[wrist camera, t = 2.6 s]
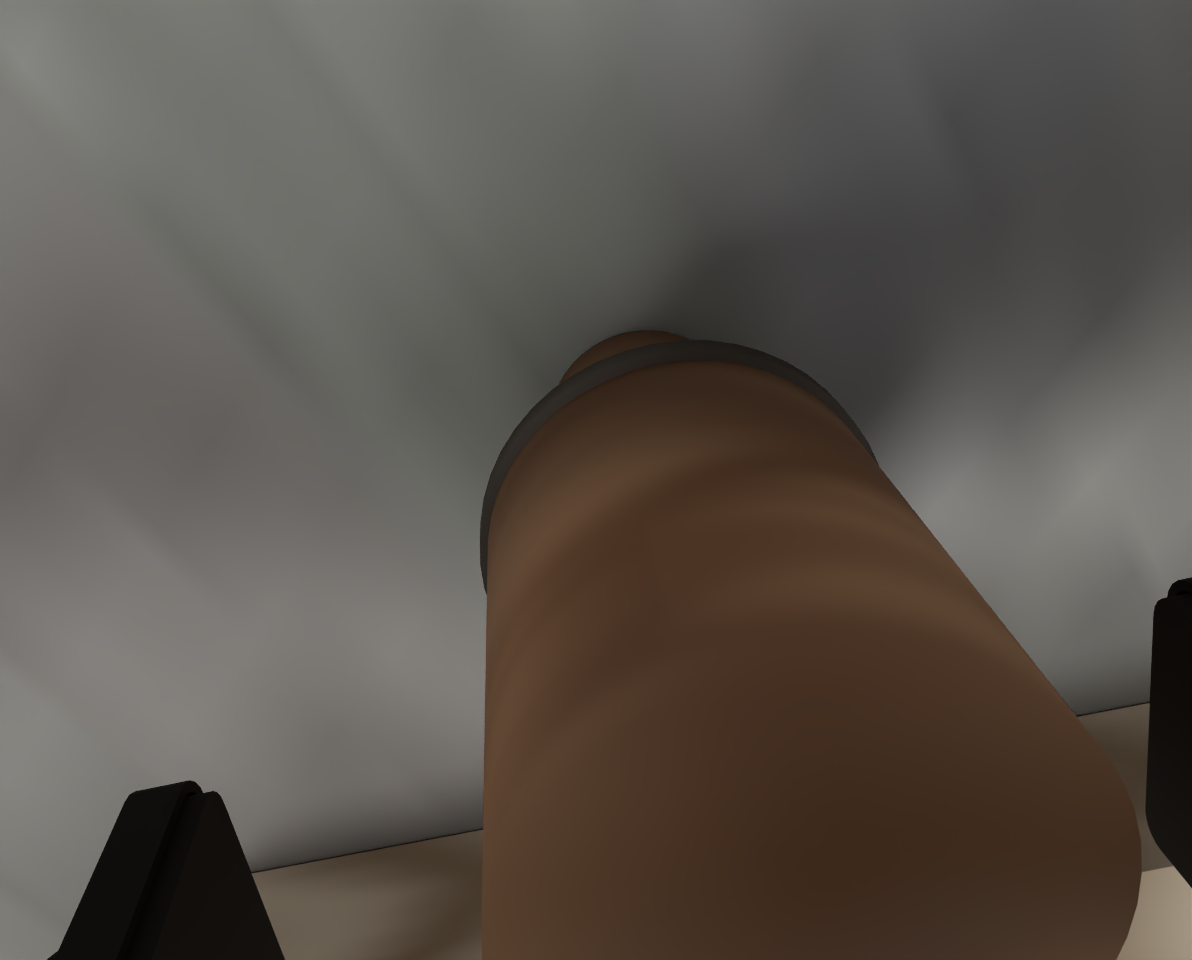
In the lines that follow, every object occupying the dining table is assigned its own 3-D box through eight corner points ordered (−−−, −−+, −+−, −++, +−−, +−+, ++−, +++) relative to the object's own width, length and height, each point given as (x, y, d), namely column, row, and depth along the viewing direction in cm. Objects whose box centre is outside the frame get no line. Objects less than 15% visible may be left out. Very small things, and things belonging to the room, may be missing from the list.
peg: (785, 234, 17) (1174, 575, 7) (813, 531, 20) (1139, 1097, 10) (451, 298, 17) (390, 724, 7) (518, 586, 20) (540, 1210, 10)
